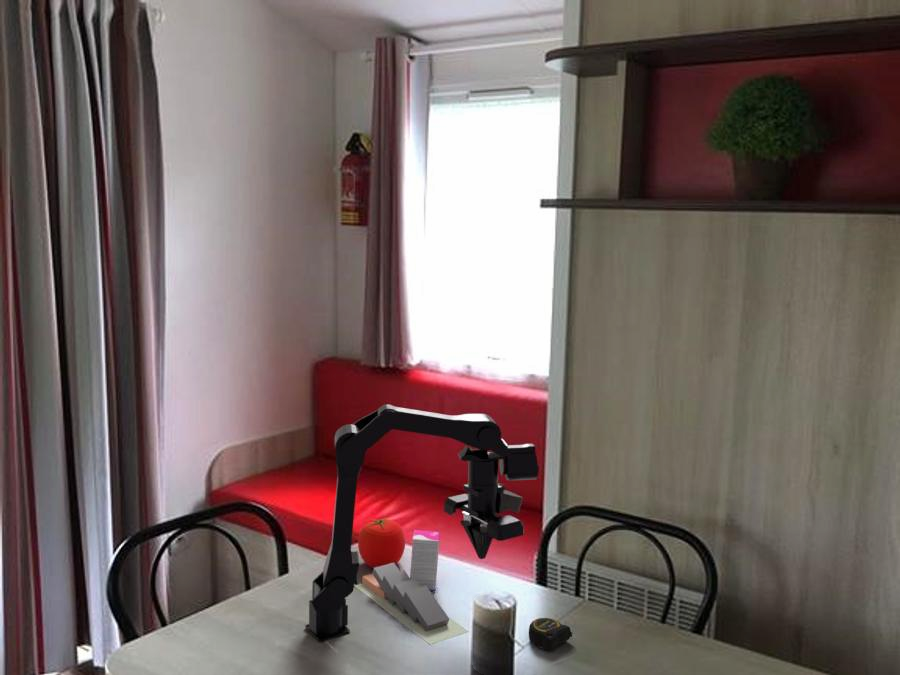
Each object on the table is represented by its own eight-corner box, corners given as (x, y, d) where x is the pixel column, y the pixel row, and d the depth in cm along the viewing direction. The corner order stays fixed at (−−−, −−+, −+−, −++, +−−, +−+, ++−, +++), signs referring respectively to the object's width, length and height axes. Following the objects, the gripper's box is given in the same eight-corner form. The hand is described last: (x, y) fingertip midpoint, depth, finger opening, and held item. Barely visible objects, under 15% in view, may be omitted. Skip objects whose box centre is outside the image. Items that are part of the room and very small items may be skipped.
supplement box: (436, 592, 170) (439, 540, 169) (408, 591, 170) (410, 539, 169) (437, 581, 176) (439, 530, 175) (410, 579, 176) (412, 529, 175)
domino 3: (404, 608, 160) (383, 575, 166) (402, 614, 160) (382, 581, 166) (425, 602, 163) (404, 570, 169) (423, 607, 163) (402, 575, 169)
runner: (429, 645, 149) (430, 644, 149) (354, 586, 172) (354, 585, 172) (468, 632, 154) (468, 631, 154) (389, 576, 178) (389, 575, 178)
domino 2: (393, 599, 163) (373, 567, 169) (392, 605, 164) (372, 573, 170) (414, 593, 166) (394, 562, 172) (412, 599, 167) (392, 567, 173)
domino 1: (384, 592, 166) (362, 576, 173) (383, 599, 166) (362, 583, 174) (404, 586, 169) (382, 570, 176) (404, 593, 169) (382, 577, 176)
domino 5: (428, 625, 153) (405, 591, 159) (426, 631, 154) (403, 597, 160) (449, 618, 156) (426, 585, 162) (447, 624, 157) (424, 591, 163)
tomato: (414, 566, 183) (415, 521, 182) (377, 579, 176) (378, 532, 175) (385, 552, 191) (386, 508, 189) (349, 564, 184) (349, 518, 182)
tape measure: (549, 657, 147) (550, 638, 146) (520, 642, 151) (521, 624, 151) (572, 644, 151) (573, 625, 151) (543, 630, 156) (544, 612, 156)
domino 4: (416, 617, 156) (394, 584, 162) (414, 623, 157) (392, 589, 163) (437, 610, 159) (415, 578, 165) (435, 616, 160) (413, 583, 166)
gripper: (547, 486, 151) (545, 565, 153) (487, 461, 166) (486, 534, 168) (500, 497, 145) (498, 579, 147) (442, 470, 160) (442, 545, 162)
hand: (481, 558), depth 156 cm, fingers closed
